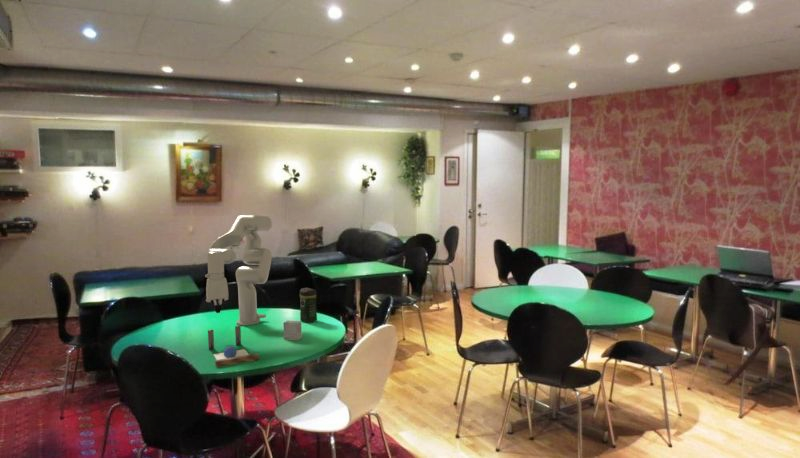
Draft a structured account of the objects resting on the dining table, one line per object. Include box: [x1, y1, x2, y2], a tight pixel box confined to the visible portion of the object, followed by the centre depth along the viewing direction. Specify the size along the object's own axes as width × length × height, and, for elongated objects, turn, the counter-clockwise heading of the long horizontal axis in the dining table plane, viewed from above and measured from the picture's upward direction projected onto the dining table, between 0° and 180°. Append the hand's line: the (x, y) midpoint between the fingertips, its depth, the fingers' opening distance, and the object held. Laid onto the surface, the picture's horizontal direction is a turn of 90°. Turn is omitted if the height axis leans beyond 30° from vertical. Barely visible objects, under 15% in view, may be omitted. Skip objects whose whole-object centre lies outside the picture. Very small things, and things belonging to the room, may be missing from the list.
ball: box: [223, 345, 237, 358], centre depth 244 cm, size 6×6×6 cm
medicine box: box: [282, 319, 303, 341], centre depth 272 cm, size 8×4×9 cm, turn 71°
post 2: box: [234, 325, 242, 347], centre depth 263 cm, size 2×2×9 cm
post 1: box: [207, 329, 215, 351], centre depth 257 cm, size 2×2×9 cm
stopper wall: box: [214, 352, 260, 368], centre depth 238 cm, size 18×2×2 cm, turn 119°
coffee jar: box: [299, 287, 318, 324], centre depth 304 cm, size 10×8×19 cm
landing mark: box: [213, 348, 250, 360], centre depth 246 cm, size 14×14×1 cm
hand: (217, 312), depth 272 cm, fingers closed
